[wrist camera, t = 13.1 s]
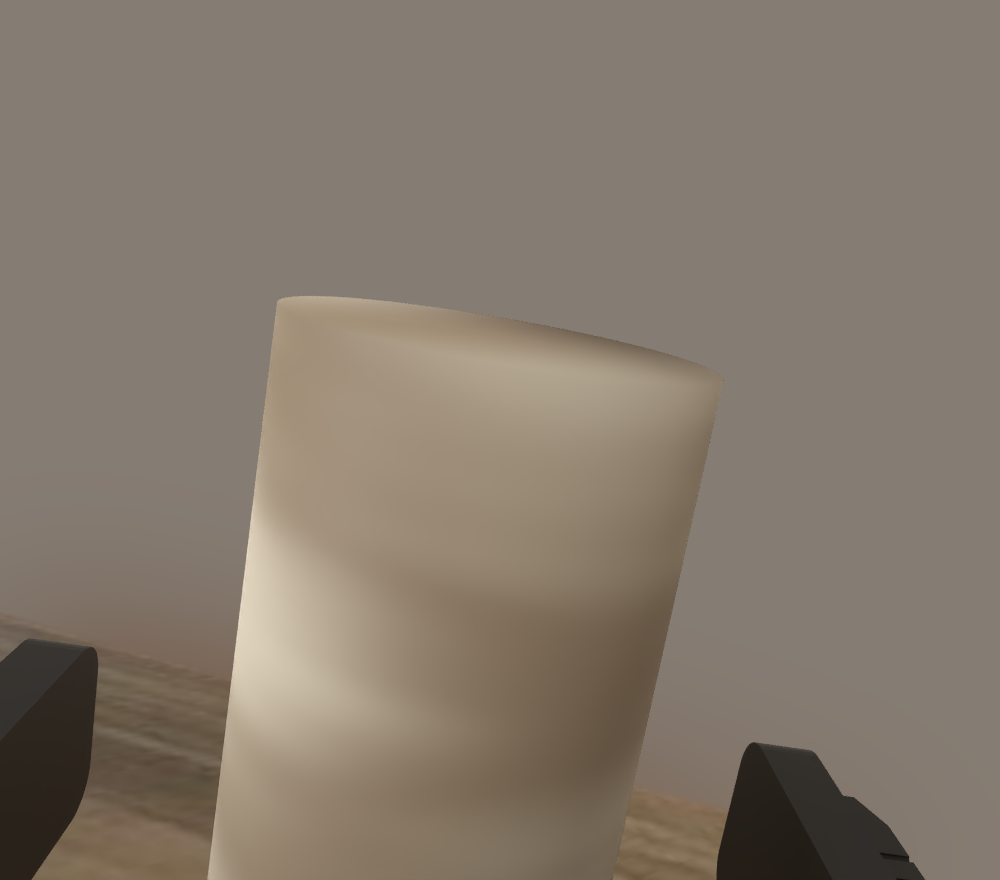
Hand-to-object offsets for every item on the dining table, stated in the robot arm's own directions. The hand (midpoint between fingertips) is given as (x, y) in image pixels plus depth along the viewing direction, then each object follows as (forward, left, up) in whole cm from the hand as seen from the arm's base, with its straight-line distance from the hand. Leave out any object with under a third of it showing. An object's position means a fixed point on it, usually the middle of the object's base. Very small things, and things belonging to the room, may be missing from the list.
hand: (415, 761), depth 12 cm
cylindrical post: (+1, -2, -10) cm, 11 cm away
